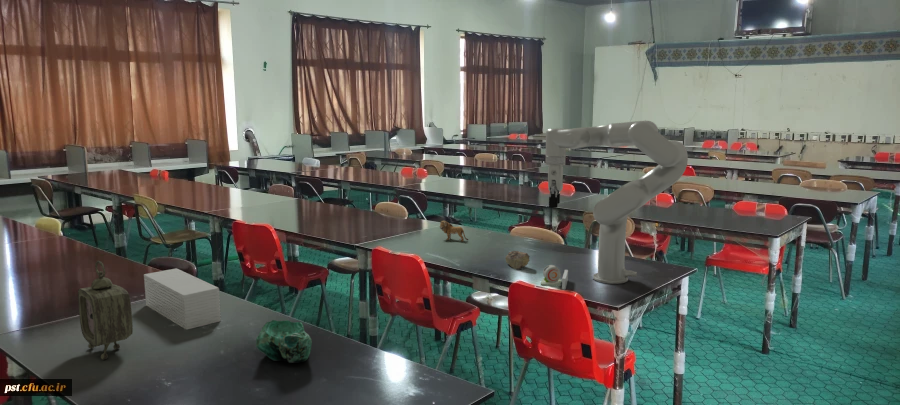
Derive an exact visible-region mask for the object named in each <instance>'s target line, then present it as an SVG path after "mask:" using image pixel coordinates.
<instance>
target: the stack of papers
mask: <svg viewBox="0 0 900 405" xmlns="http://www.w3.org/2000/svg"><path fill="white" fill-rule="evenodd" d="M143 280H144V282H143V283H144V291H145V292H144V294H145V295H144V296H145V303H146V304H145V305H146V307H148V308H150V309H151V310H153V311H155V312H156V313H157V314H160V315H162V316H163V317H165V318H166V319H168V320H170V321H172V322H173V323H174V324H176V325H178V326H180V327H181V328H183V329H184V330H190V329H195V328H198V327H202V326H206V325H211V324H215V323H218V322H221V321H222V319H221V318H222V316H221V303H220V302H221V300H220V288H219V287H218V286H215V285H213V284H211V283H209V282H207V281H205V280H203V279H201V278H198V277H196V276H193V275H192V274H190V273H187V272H185V271H183V270H181V269H179V268H176V267H175V268H172V269H166V270H160V271H155V272H149V273H145V274H143Z"/></svg>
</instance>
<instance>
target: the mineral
mask: <svg viewBox="0 0 900 405" xmlns="http://www.w3.org/2000/svg"><path fill="white" fill-rule="evenodd" d="M312 341H313V340H312V338H311V336H310V334H309V333H307V332H306V331H305V327H304V324H303V322H301V321H300V322H299V321H297V322H295V321H294V322H292V321H291V320H287V319H286V320H276V319H272V320H270V321H266V323H265V324H264V325H263V327H261V330H260V331H259V334H258V335H257V337H256V339H255V348H257V350H258V351H259V352H261V353H262V354H264V355H265V356H267V357H268V358H269V359H270V360H272V361H274V362H279V361H280V362H281V361H283V362H288V363H289V364H292V363H293V364H295V363H296V364H297V363H298V364H299V363H303V362H306V361H307V360H308V358H309V356H310V354H311V352H312V344H313V342H312Z"/></svg>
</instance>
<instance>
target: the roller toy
mask: <svg viewBox="0 0 900 405" xmlns="http://www.w3.org/2000/svg"><path fill="white" fill-rule="evenodd" d="M542 273H543V277H544V280H545V281H546V282H556V281H558V280H559V279H560V278H561V275H562V274H561V269H559V268H558V267H557V266H556V265H554V264H549V265H547V266H545V267H544V268H543V271H542Z"/></svg>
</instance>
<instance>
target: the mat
mask: <svg viewBox="0 0 900 405" xmlns="http://www.w3.org/2000/svg"><path fill="white" fill-rule="evenodd" d="M544 278H545V277H544ZM544 278H543V277H542V280H541V282H540V286H546V287H547V286H549V287H561V286H562V278H561V279H559V280H558V281H556V282H546V281H545V280H544Z"/></svg>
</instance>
